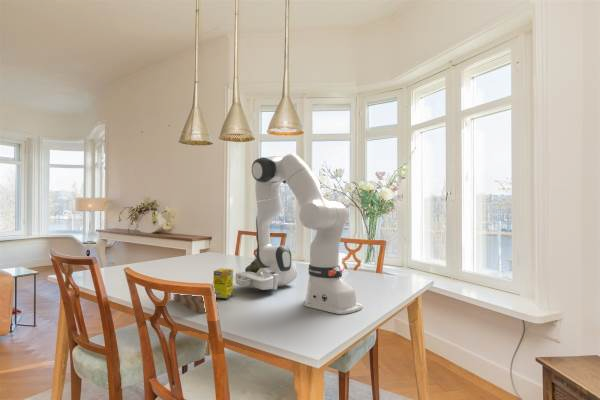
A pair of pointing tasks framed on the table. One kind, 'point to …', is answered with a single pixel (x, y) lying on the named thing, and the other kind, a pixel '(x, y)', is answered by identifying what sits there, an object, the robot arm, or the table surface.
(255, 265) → the decorative rock
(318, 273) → the robot arm
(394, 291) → the table surface
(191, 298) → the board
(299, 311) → the table surface
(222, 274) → the supplement box
